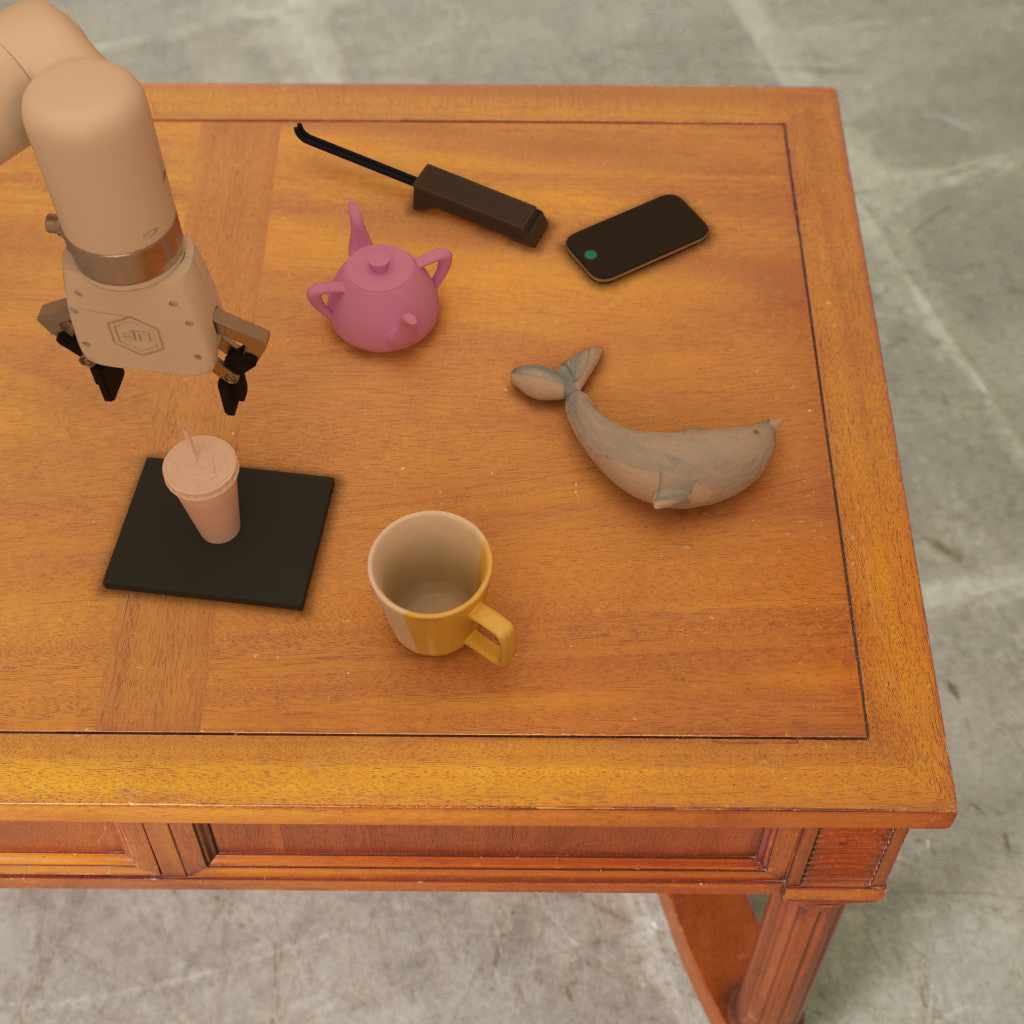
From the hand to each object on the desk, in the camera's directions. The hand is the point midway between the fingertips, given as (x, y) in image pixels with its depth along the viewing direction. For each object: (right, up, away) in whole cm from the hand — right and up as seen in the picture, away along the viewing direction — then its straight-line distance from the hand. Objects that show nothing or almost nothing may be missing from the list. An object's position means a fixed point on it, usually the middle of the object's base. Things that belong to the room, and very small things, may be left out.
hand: (175, 394), depth 101 cm
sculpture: (+40, -1, +24) cm, 47 cm away
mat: (0, -11, +16) cm, 20 cm away
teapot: (+14, +10, +31) cm, 36 cm away
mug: (+21, -20, +11) cm, 31 cm away
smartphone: (+40, +20, +38) cm, 59 cm away
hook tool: (+17, +26, +42) cm, 52 cm away
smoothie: (0, -11, +16) cm, 19 cm away
